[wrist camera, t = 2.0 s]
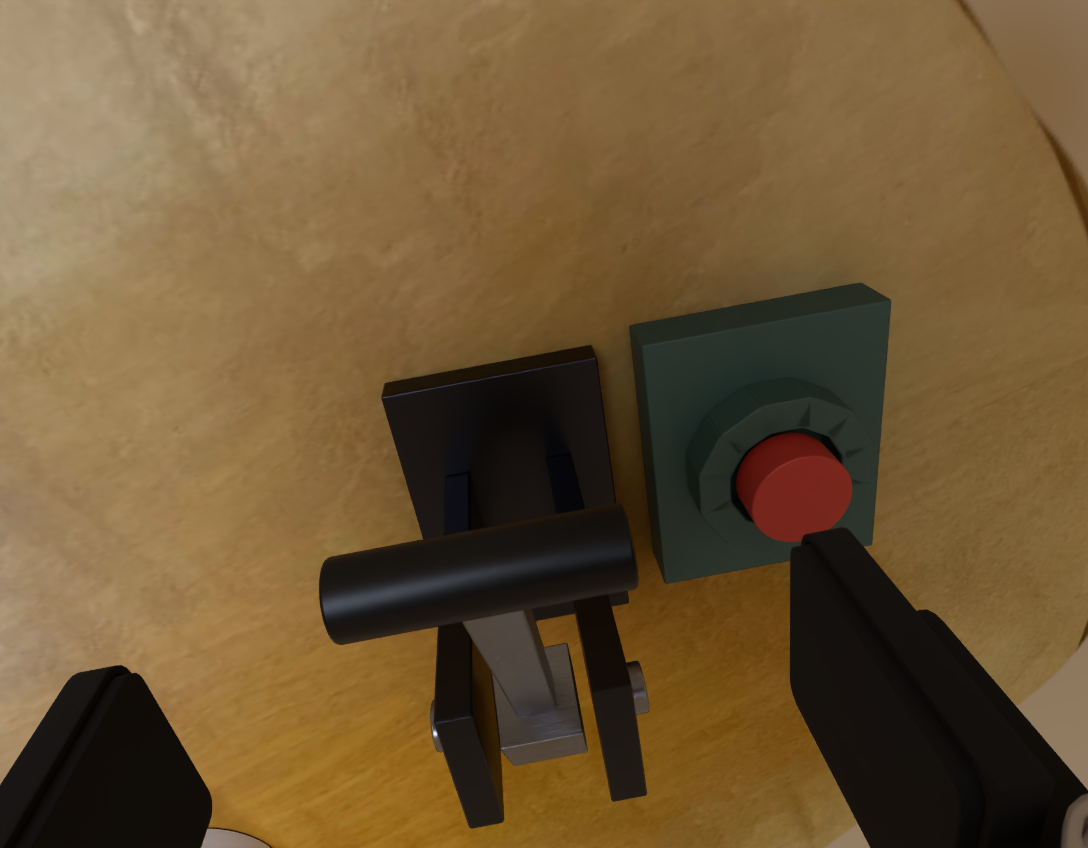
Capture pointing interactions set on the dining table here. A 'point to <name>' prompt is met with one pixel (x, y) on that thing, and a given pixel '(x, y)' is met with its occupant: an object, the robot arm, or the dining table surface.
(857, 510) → the button box
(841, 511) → the button
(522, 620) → the lever
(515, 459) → the bracket
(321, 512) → the dining table surface
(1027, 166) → the dining table surface
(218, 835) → the cup
